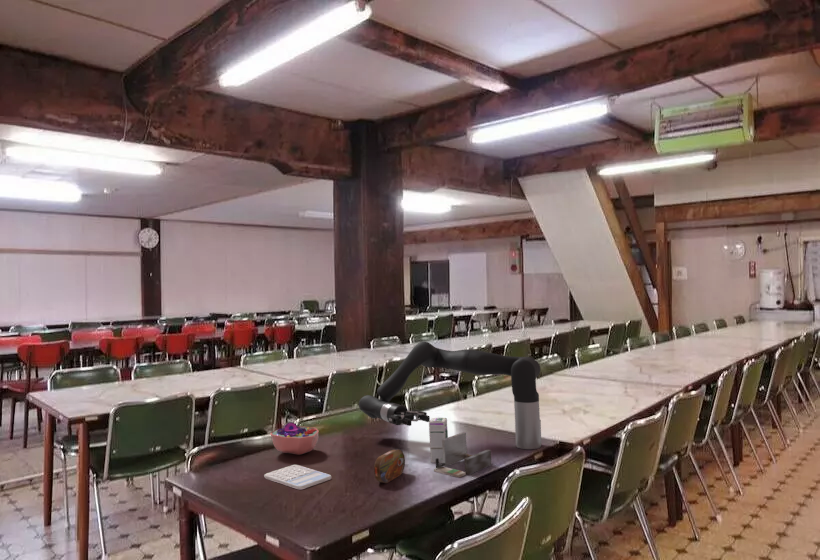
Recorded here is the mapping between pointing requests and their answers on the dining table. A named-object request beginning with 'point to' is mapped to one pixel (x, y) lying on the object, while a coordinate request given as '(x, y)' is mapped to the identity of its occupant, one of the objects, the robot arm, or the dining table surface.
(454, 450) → the gauge paddle
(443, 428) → the syrup box
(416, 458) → the dining table surface
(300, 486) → the calculator
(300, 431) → the cell model
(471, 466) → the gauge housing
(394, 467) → the tin
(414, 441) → the dining table surface
